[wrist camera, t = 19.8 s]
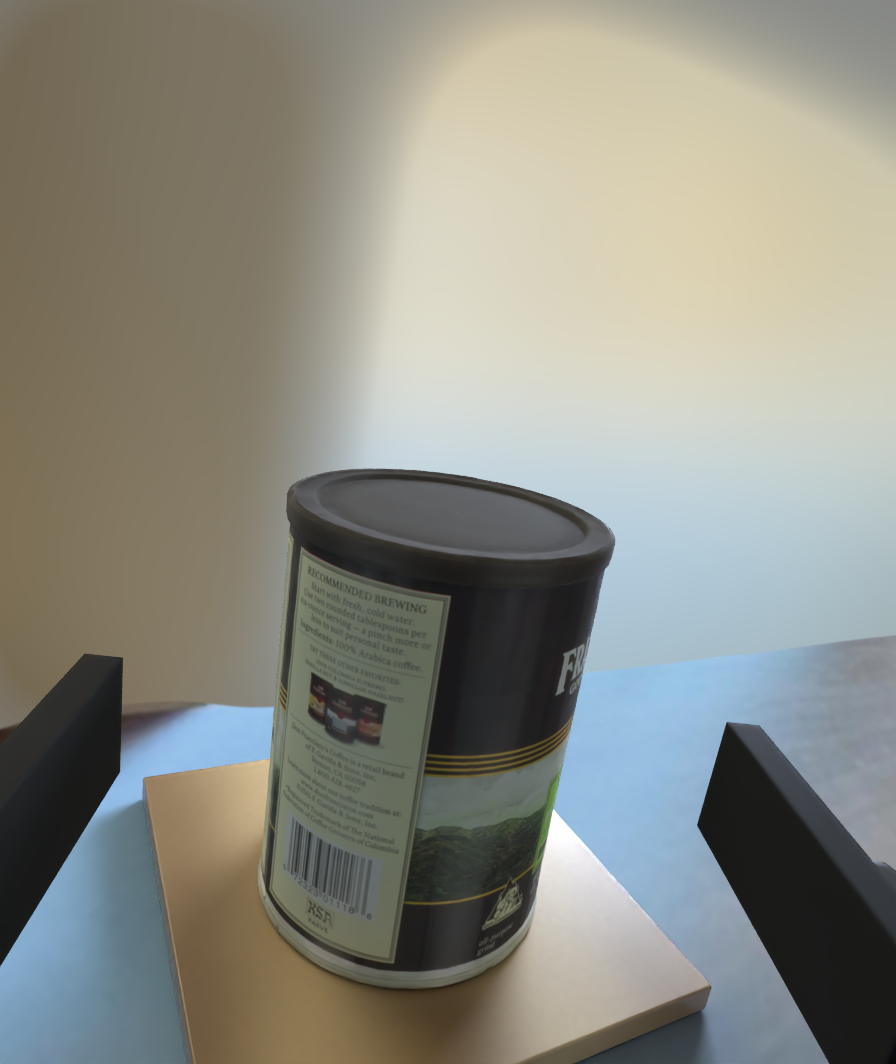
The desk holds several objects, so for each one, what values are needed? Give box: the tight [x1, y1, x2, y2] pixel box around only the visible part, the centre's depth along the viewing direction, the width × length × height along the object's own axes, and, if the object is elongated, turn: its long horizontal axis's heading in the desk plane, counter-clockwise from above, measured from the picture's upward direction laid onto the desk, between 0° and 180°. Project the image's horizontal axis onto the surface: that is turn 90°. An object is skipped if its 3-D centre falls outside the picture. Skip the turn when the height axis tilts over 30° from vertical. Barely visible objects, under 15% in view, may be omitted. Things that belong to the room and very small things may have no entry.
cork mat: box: [142, 759, 711, 1064], centre depth 28 cm, size 16×16×1 cm
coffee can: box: [258, 469, 615, 989], centre depth 26 cm, size 10×10×14 cm
